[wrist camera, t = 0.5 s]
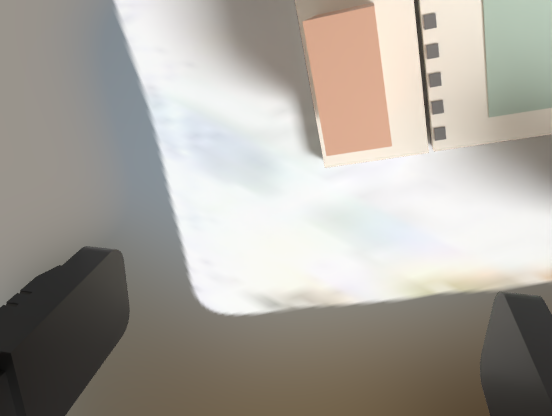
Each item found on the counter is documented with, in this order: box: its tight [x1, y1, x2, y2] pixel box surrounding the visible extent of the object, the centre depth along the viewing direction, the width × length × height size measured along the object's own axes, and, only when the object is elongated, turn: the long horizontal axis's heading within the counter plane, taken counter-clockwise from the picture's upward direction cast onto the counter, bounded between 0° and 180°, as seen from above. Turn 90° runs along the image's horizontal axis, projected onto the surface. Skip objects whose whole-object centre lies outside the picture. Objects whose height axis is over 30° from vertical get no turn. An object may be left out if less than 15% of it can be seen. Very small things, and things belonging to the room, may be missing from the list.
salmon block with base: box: [295, 0, 429, 168], centre depth 25 cm, size 6×11×7 cm, turn 12°
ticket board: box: [418, 0, 552, 151], centre depth 25 cm, size 12×11×1 cm
